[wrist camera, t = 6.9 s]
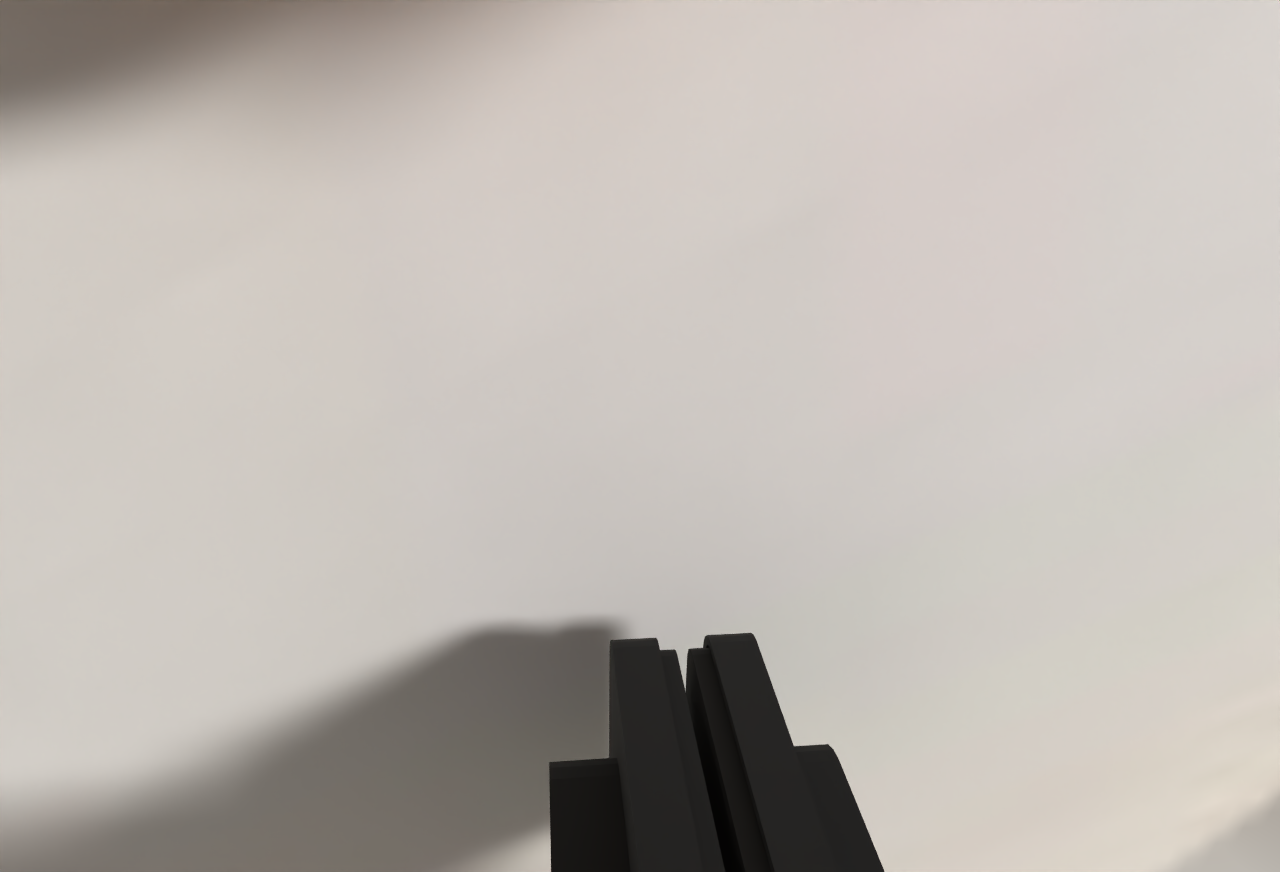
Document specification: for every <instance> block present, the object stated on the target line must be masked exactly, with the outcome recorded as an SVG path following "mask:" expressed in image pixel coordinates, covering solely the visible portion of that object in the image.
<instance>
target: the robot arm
mask: <svg viewBox="0 0 1280 872" xmlns="http://www.w3.org/2000/svg"><path fill="white" fill-rule="evenodd" d="M549 774H550V830H551V872H884V869H883V867H882V864H881V862H880V860H879V857H878V855H877V852H876V850H875V847H874V845H873V842H872V840H871V838H870V835H869V833H868V830H867V828H866V825H865V823H864V820H863V818H862V815H861V813H860V811H859V808H858V806H857V803H856V801H855V798H854V796H853V793H852V791H851V788H850V786H849V784H848V781H847V779H846V776H845V774H844V771H843V769H842V766H841V764H840V762H839V759H838V757H837V755H836V754H835V752H834V750H833V749H832V748H831V747H830V746H829V745H828V744H825V745H810V746H793V743H792V740H791V737H790V734H789V731H788V729H787V726H786V723H785V720H784V717H783V714H782V712H781V709H780V706H779V703H778V700H777V697H776V695H775V692H774V689H773V686H772V683H771V681H770V678H769V675H768V672H767V669H766V666H765V664H764V661H763V658H762V655H761V652H760V649H759V647H758V644H757V641H756V639H755V637H754V635H753V634H752V633H742V634H722V635H707V636H706V637H705V639H704V645H703V648H695V649H689V650H688V656H687V674H686V693H685V688H684V683H683V679H682V674H681V670H680V665H679V661H678V656H677V653H676V650H660V649H659V644H658V640H657V639H656V638H644V639H625V640H611V641H610V672H609V758H607V759H591V760H576V761H560V762H549Z"/></svg>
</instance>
